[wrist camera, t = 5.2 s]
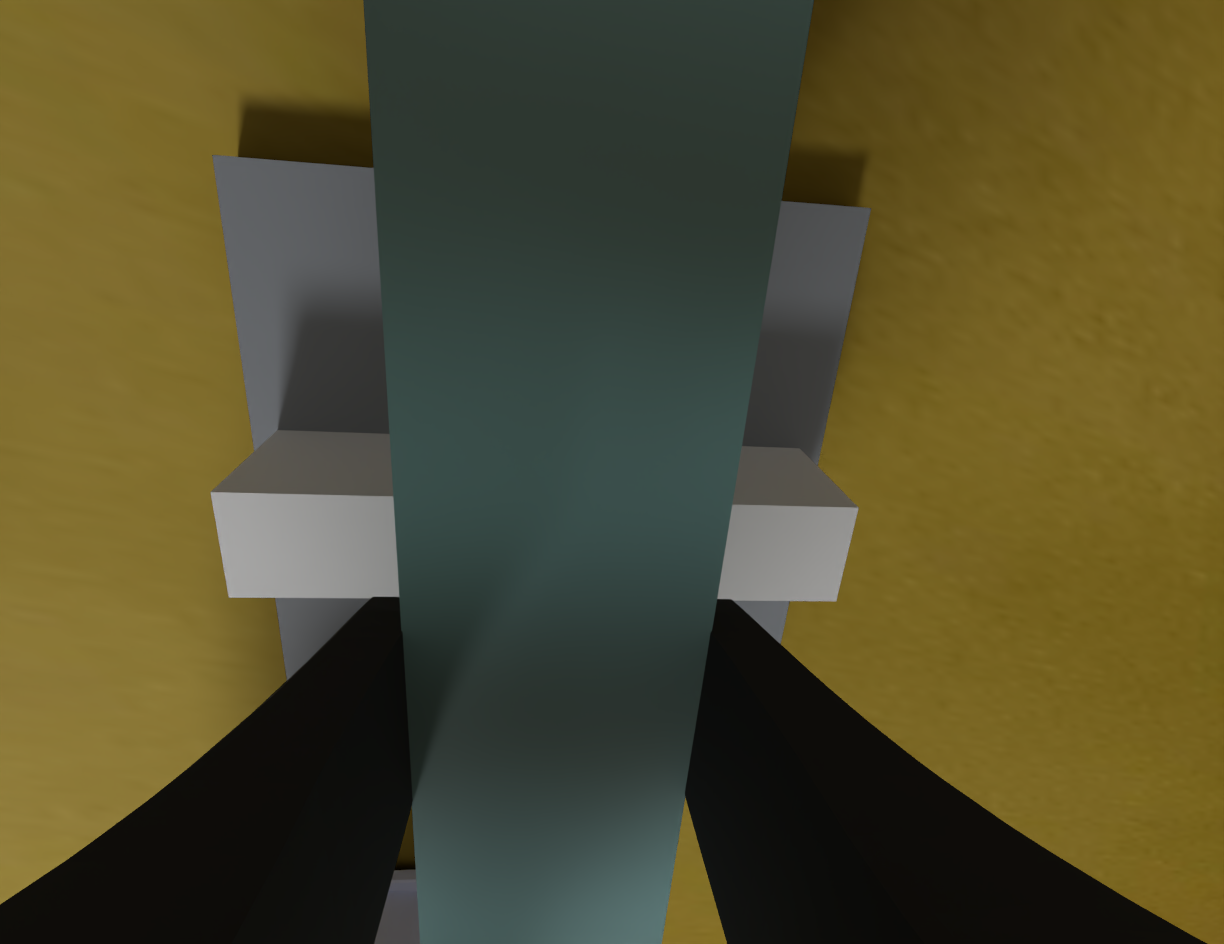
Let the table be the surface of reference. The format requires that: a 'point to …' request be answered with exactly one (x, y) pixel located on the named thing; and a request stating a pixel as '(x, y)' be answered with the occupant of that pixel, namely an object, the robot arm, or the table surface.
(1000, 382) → the table surface
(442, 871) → the teal bar
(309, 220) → the stand
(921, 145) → the table surface
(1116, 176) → the table surface
